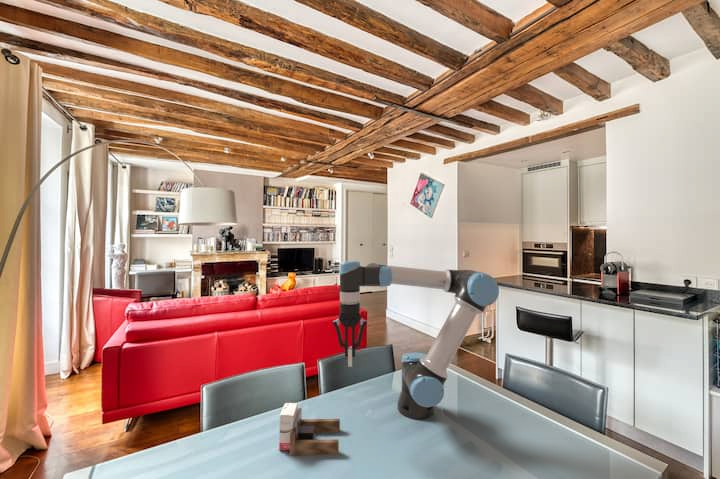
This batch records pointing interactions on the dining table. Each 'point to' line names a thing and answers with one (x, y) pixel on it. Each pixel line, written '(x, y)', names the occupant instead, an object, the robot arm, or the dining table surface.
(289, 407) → the ink box
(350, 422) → the dining table surface
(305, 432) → the grey stepped bracket
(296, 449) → the chute
